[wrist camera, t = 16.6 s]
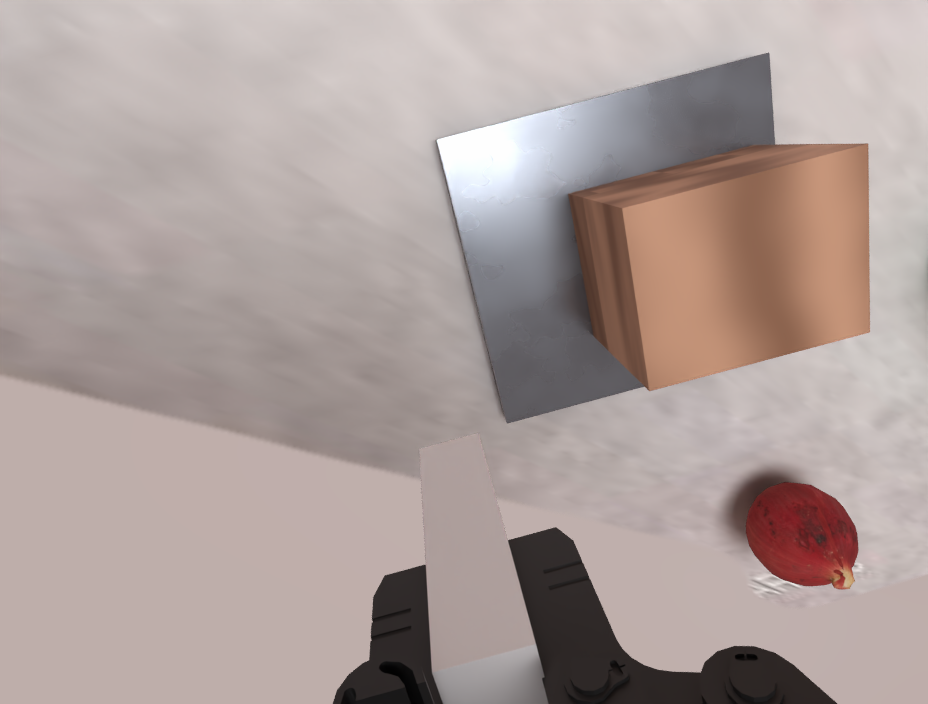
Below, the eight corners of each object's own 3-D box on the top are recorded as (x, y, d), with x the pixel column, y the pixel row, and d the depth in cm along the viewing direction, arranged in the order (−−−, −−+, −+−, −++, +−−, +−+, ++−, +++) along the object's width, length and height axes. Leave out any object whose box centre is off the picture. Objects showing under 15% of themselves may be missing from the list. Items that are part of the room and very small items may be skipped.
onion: (714, 478, 39) (790, 557, 31) (798, 447, 39) (894, 520, 31) (731, 547, 41) (805, 637, 33) (811, 518, 41) (904, 602, 33)
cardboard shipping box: (593, 336, 33) (649, 391, 26) (568, 193, 31) (622, 208, 23) (764, 290, 34) (869, 332, 26) (754, 144, 31) (868, 143, 23)
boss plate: (503, 414, 36) (513, 440, 33) (435, 140, 30) (439, 139, 27) (775, 341, 36) (810, 359, 33) (755, 55, 31) (795, 45, 27)
